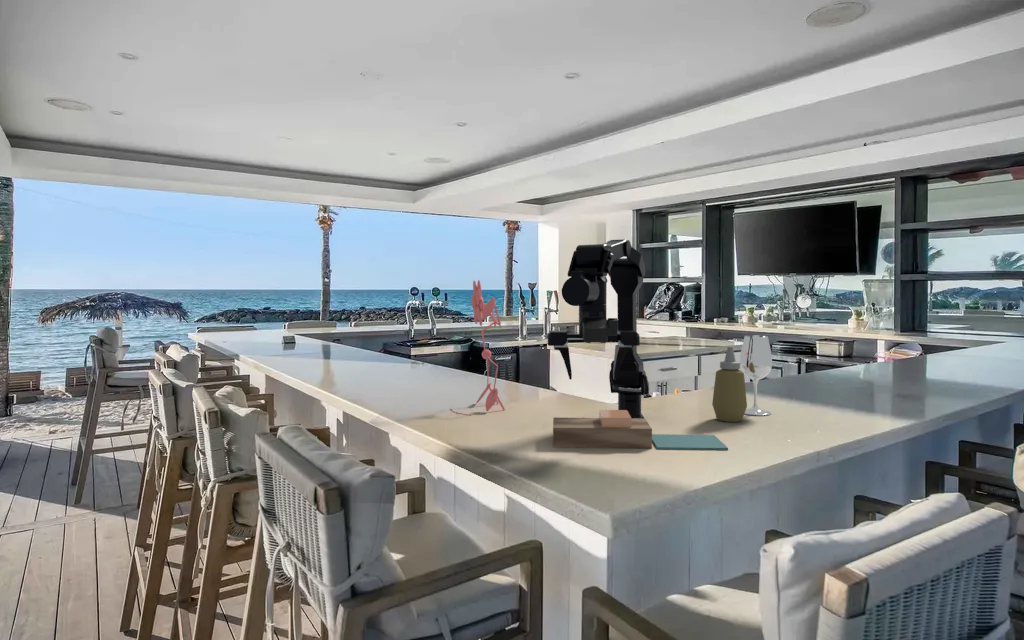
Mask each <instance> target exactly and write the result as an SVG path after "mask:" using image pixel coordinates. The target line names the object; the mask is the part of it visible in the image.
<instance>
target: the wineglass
mask: <svg viewBox="0 0 1024 640" xmlns="http://www.w3.org/2000/svg"><path fill="white" fill-rule="evenodd" d="M772 355H773V354H772V350H771V345H770V340H769V336H768V335H761V334H759V335H758V334H757V335H755V334H750V335H749V334H748V335H747V334H746V335H744V338H743V342H742V346H741V349H740V357H739V362H740V371H742V372H743V373H744V376H746V377H747V378H748V379H750V380H752V382H753V405H752V406H751V407H750V408H746V411H745V413H744V415H748V416H755V415H756V416H761V417H763V416H764V415H765V416H769V415H771V414H772V412H771V411H769V410H765V409H761V408H760V407H758V401H757V400H758V399H757V397H758V383H759V381H760V380H763V379H764V378H765V377H767V376H768V375H769V374H770V373H771V371H772V368H773V357H772Z"/></svg>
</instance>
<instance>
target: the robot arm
mask: <svg viewBox="0 0 1024 640" xmlns="http://www.w3.org/2000/svg"><path fill="white" fill-rule="evenodd" d="M645 275H646V263H645V261H644V257H643V255H642V253H640V252H639V251H638V250H637V249H635V248H634V247H632V244H631V241H630V240H627V239H625V238H624V239H610V240H608V241H607V242H604V243H600V244H578V245H577V246H576V247H575V250H574V251H573V253H572V257H571V261H570V264H569V267H568V271H567V277H569V278H568V279H566V280H565V281H564V283H563V285H562V288H561V296H562V299H563V300H564V302H565V303H566V304H568V305H570V306H572V307H578V333H568V332H567V330H550V331H548V333H547V346H548V347H553V349H554V351H555V350H556V351H559V353H560V355H561V357H562V359H563V362H564V366H565V369H566V372H567V375H568V379H569V380H572V378H573V377H572V375H573V374H572V372H573V371H572V366H571V358H570V349H569V346H568V343H587V344H593V343H600V344H606V343H617V344H615V347H614V348H615V349H614V356H613V357H614V359H613V360H612V361H611V363H610V370H609V374H608V375H609V377H608V379H609V387H610V393H611V394H617V396H618V397H617V410H627V411H628V413H629V414H630V416H631V418H645V416H644V415H643V414H642V396H645V395H650V384H649V379H648V376H647V373H646V371H645V369H644V361H643V360H642V359H641V357H640V355H639V354H638V349H637V348H638V347H639V346H640V345H641V342H640V333H638V332H637V329H638V328H637V323H638V322H637V319H638V318H637V294H638V291H639V290H640V289H641V287H642V286H643V285H644V277H645ZM607 276H608V277H609V280H610V285H611V287H612V288H613V290H614V291H615V294H616V295H617V305H616V306H617V317H610V318H609V317H608V318H607V283H608V279H607ZM637 346H638V347H637Z"/></svg>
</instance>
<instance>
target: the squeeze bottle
mask: <svg viewBox="0 0 1024 640" xmlns="http://www.w3.org/2000/svg"><path fill="white" fill-rule="evenodd" d="M719 368H720V369H718V370H716V372H715V379H714V386H713V394H712V395H713V396H712V401H711V402H712V407H713V411H714V414H715V417H716V419H717V420H718V421H722V422H727V423H738V422H741V421H743V418H744V417H745V414H744V413H745V411H746V409H748V408H747V407H748V402H747V401H748V400H747V390H746V381H745V380H746V378H745V374H744V373H743V372H742V370H741V368H740V361H736V355H735V351H734V347H733V346H727V348H726V352H725V357H724V360H720V361H719Z"/></svg>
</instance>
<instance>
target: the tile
mask: <svg viewBox="0 0 1024 640" xmlns="http://www.w3.org/2000/svg"><path fill="white" fill-rule="evenodd" d="M598 413H599V414H598V416H599V417H598V418H599V420H600V423H601V426H602V427H627V428H631V416H630V414H629V413H628V411H627V410H618V409H599V411H598Z"/></svg>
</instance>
